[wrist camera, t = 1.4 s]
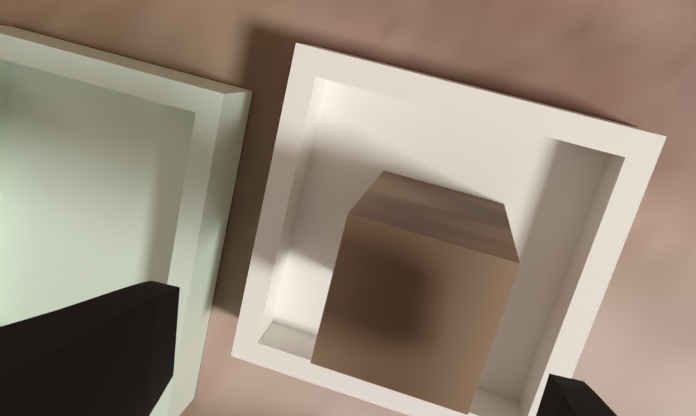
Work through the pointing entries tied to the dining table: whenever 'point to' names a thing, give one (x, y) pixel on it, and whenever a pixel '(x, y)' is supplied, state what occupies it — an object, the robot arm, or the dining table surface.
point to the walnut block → (418, 290)
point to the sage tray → (113, 184)
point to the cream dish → (453, 173)
